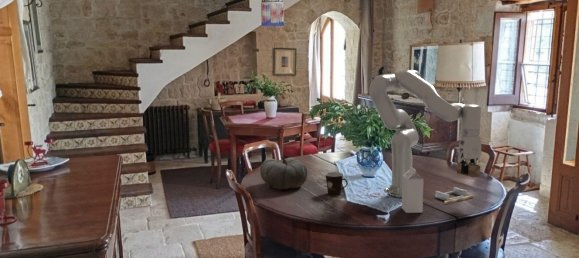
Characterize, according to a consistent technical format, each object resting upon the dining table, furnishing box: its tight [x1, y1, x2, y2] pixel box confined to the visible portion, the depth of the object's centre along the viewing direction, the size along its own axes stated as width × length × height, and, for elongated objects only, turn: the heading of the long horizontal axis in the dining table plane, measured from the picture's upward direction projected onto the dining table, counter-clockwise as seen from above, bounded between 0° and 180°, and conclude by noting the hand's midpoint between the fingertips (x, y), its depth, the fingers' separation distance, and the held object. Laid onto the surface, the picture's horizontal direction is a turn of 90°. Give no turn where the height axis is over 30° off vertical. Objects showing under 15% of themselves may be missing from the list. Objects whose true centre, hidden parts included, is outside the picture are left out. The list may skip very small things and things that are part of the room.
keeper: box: [434, 186, 468, 201], centre depth 209 cm, size 13×8×3 cm, turn 118°
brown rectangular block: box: [456, 161, 481, 178], centre depth 195 cm, size 4×9×5 cm, turn 28°
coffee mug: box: [325, 171, 348, 197], centre depth 215 cm, size 12×9×10 cm
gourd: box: [260, 155, 308, 191], centre depth 231 cm, size 25×25×17 cm
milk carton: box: [401, 166, 424, 214], centre depth 190 cm, size 7×7×19 cm
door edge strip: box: [443, 194, 474, 205], centre depth 204 cm, size 18×1×1 cm, turn 118°
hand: (468, 172), depth 195 cm, fingers closed on brown rectangular block, 4 cm apart
